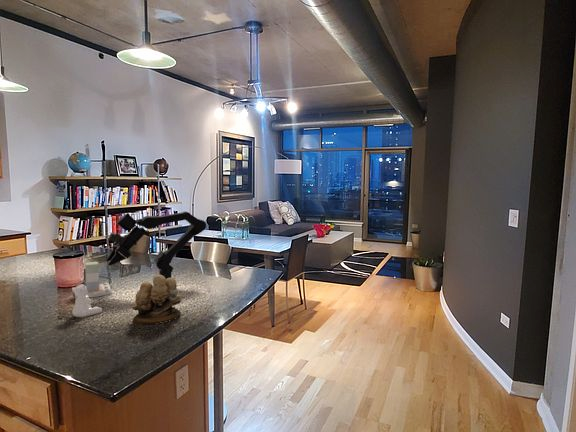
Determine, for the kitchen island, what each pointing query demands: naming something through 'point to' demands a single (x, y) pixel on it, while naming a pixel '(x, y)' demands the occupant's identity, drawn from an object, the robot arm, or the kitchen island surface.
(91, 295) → the baseplate
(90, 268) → the grey green upright block
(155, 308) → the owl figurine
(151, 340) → the kitchen island surface
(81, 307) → the seated beast figurine
